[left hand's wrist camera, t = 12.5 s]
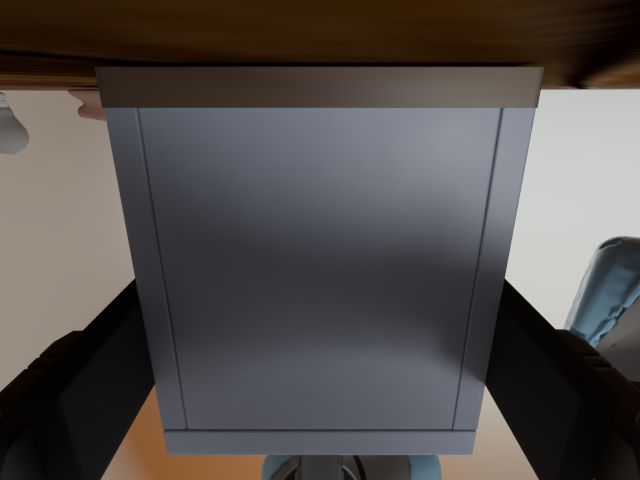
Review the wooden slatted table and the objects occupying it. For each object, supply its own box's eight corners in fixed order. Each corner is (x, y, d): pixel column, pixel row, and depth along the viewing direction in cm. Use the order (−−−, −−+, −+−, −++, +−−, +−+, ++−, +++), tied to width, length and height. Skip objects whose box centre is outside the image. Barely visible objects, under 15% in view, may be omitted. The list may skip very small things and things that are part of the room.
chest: (396, 84, 25) (386, 235, 28) (243, 83, 25) (253, 235, 28) (545, 66, 8) (477, 430, 12) (93, 66, 8) (161, 430, 12)
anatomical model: (76, 137, 35) (206, 131, 40) (65, 88, 33) (202, 89, 38) (77, 126, 45) (180, 123, 51) (69, 90, 44) (175, 90, 49)
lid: (385, 233, 29) (379, 329, 32) (254, 233, 29) (260, 329, 32) (477, 431, 12) (446, 596, 15) (162, 431, 12) (192, 596, 15)
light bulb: (6, 90, 61) (23, 156, 65) (24, 91, 67) (38, 151, 70) (-39, 90, 60) (-19, 157, 63) (-17, 91, 65) (0, 152, 69)
